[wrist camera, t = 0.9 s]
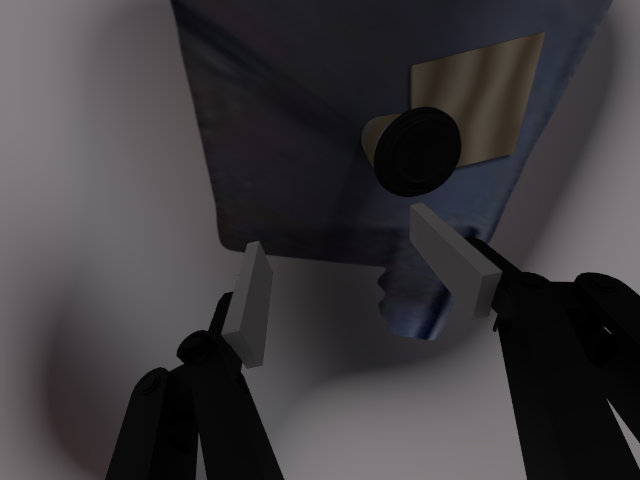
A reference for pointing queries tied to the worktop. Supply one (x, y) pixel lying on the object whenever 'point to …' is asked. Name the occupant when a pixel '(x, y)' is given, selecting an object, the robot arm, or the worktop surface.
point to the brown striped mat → (481, 94)
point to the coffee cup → (412, 150)
